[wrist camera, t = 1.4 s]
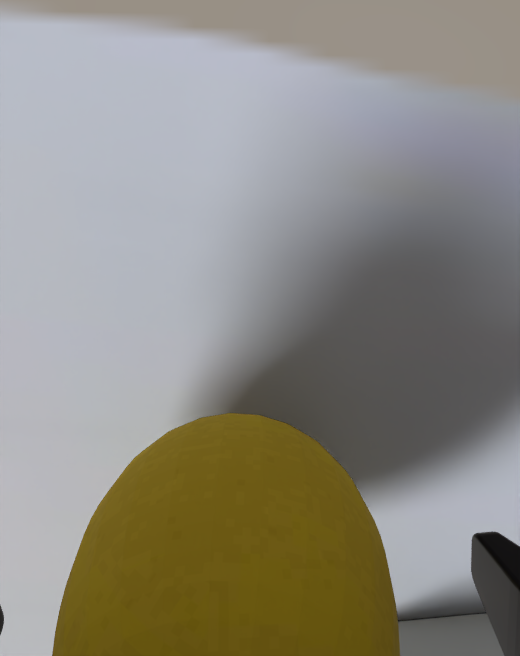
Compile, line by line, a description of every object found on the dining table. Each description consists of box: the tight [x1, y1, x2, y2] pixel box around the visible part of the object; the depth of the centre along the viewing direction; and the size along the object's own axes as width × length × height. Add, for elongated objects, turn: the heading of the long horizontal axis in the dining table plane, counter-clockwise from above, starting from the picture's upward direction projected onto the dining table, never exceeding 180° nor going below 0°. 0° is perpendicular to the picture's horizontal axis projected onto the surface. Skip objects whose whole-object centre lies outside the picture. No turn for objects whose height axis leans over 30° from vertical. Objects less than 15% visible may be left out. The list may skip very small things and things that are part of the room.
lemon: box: [52, 413, 400, 656], centre depth 8 cm, size 6×6×8 cm
